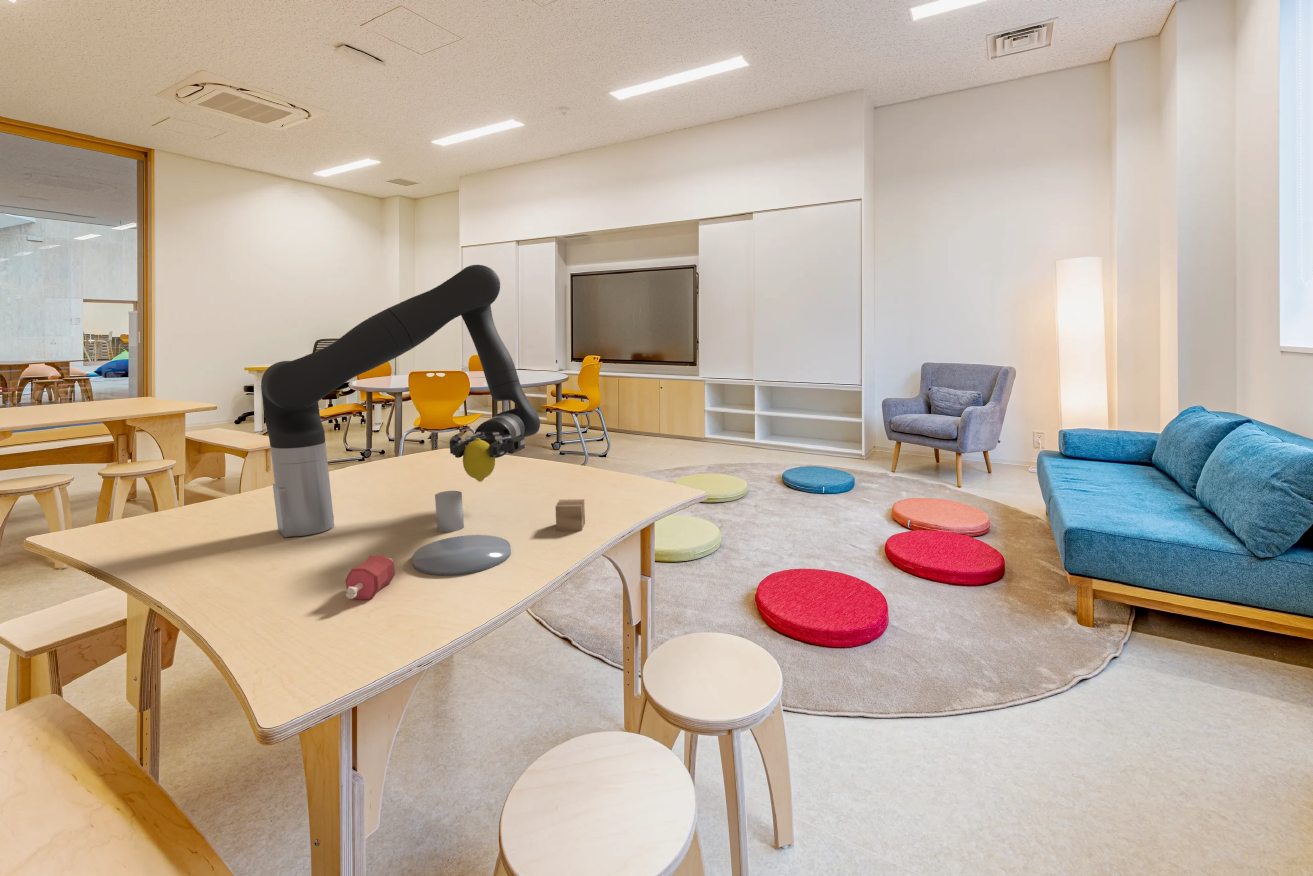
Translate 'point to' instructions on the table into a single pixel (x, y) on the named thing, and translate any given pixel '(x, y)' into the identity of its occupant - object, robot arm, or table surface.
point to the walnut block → (570, 515)
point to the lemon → (478, 460)
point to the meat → (369, 577)
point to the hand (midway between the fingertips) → (474, 451)
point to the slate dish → (461, 555)
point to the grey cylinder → (449, 511)
